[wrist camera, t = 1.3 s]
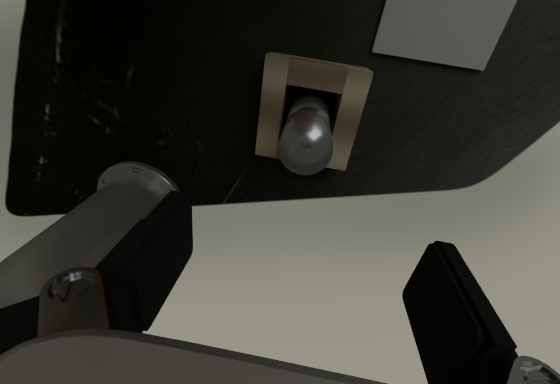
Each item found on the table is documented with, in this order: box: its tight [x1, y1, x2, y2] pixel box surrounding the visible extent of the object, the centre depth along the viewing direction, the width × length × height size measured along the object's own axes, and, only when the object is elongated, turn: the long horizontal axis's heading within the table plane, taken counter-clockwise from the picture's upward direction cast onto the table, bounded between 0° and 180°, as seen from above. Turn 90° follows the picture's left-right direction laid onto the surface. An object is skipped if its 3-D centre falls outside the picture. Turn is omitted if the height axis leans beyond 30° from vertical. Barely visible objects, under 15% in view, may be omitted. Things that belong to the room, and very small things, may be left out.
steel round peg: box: [278, 89, 333, 175], centre depth 26 cm, size 4×4×13 cm
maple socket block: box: [255, 52, 373, 171], centre depth 30 cm, size 10×10×4 cm
